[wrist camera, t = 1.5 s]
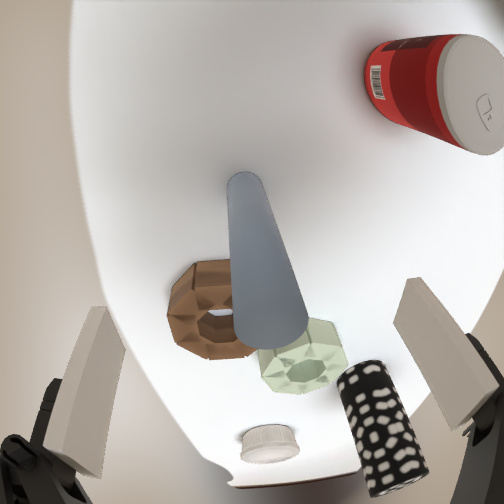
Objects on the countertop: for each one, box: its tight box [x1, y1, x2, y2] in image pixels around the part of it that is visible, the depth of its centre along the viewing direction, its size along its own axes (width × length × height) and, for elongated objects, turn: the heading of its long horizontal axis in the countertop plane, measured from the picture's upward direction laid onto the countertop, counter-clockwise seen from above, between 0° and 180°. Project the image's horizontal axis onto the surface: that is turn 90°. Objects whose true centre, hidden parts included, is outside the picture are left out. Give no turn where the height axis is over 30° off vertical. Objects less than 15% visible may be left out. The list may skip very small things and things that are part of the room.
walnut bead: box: [167, 259, 257, 360], centre depth 30 cm, size 10×10×4 cm
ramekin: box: [241, 425, 300, 464], centre depth 48 cm, size 11×11×5 cm
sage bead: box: [258, 318, 348, 394], centre depth 35 cm, size 10×10×4 cm
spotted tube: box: [337, 360, 429, 498], centre depth 34 cm, size 8×8×20 cm
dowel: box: [227, 172, 309, 350], centre depth 19 cm, size 3×3×16 cm
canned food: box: [364, 34, 504, 155], centre depth 16 cm, size 8×8×11 cm
